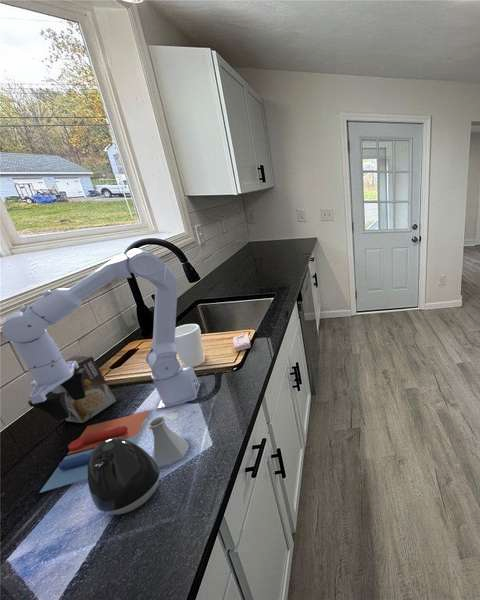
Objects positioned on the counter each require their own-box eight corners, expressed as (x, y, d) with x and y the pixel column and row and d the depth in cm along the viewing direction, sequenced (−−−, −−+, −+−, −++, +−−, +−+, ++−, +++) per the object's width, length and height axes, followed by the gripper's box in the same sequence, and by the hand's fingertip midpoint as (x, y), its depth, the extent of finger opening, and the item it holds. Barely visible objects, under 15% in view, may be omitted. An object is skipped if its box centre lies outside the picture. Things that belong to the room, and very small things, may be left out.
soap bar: (235, 352, 115) (233, 346, 114) (234, 342, 123) (232, 336, 122) (251, 348, 117) (249, 342, 117) (249, 338, 125) (247, 332, 124)
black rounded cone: (93, 535, 57) (53, 476, 52) (114, 487, 66) (82, 433, 61) (158, 510, 61) (128, 453, 55) (170, 468, 70) (145, 415, 64)
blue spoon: (57, 476, 69) (52, 469, 69) (66, 463, 72) (61, 456, 72) (121, 457, 73) (118, 450, 72) (127, 445, 76) (124, 439, 75)
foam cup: (199, 369, 106) (187, 336, 101) (173, 371, 107) (159, 337, 102) (215, 354, 115) (204, 323, 110) (190, 355, 115) (179, 324, 110)
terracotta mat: (149, 411, 88) (149, 410, 88) (137, 436, 80) (136, 435, 79) (88, 427, 84) (87, 426, 84) (67, 456, 75) (66, 454, 75)
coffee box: (100, 399, 94) (76, 354, 88) (117, 401, 93) (94, 355, 87) (65, 422, 86) (35, 373, 80) (83, 424, 85) (54, 375, 79)
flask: (149, 473, 69) (132, 439, 65) (156, 449, 75) (140, 417, 71) (187, 459, 72) (173, 425, 68) (190, 437, 78) (177, 406, 74)
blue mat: (136, 438, 79) (135, 436, 79) (120, 469, 70) (119, 468, 70) (66, 457, 75) (65, 456, 74) (39, 494, 66) (38, 492, 66)
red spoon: (131, 427, 82) (127, 420, 81) (125, 436, 79) (122, 430, 78) (74, 442, 78) (70, 435, 78) (66, 453, 75) (61, 446, 74)
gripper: (42, 350, 77) (67, 395, 82) (-3, 384, 64) (31, 434, 69) (78, 343, 79) (101, 387, 84) (42, 374, 66) (71, 424, 72)
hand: (72, 408), depth 77 cm, fingers open, 7 cm apart
